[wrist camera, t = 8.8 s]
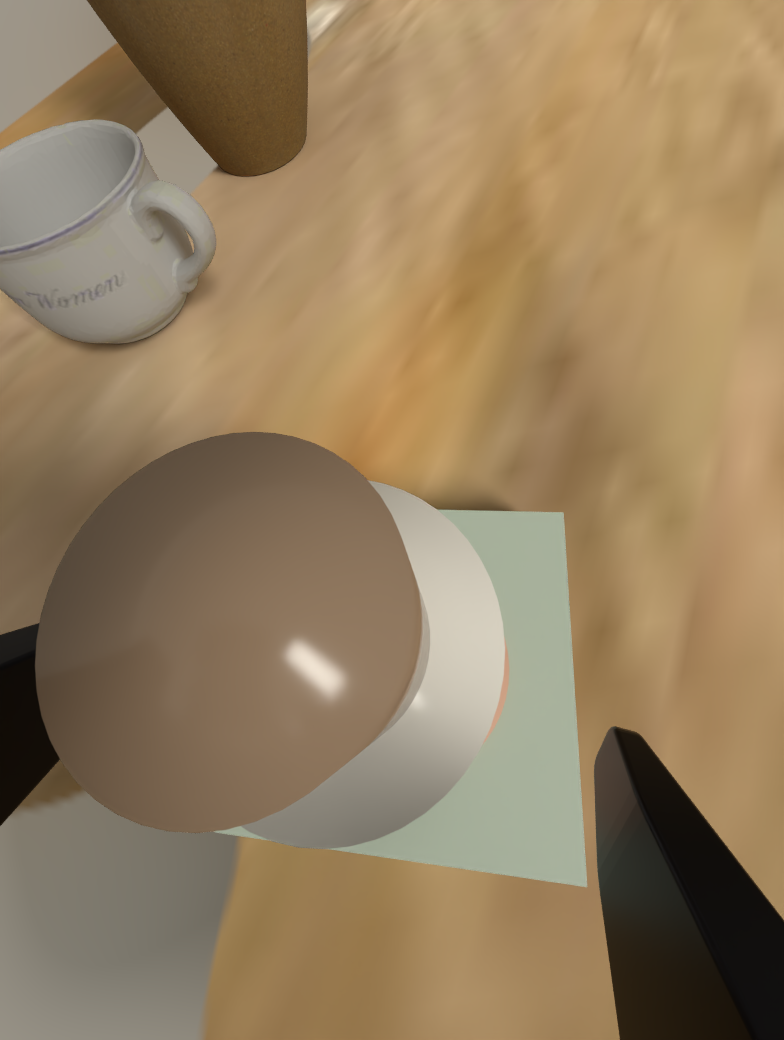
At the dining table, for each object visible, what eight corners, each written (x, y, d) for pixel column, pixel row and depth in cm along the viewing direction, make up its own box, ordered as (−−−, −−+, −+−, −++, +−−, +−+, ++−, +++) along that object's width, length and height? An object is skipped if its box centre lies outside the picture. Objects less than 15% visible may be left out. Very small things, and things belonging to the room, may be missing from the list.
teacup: (35, 343, 29) (-111, 226, 21) (131, 233, 32) (32, 95, 24) (195, 405, 25) (86, 290, 18) (287, 274, 28) (227, 126, 20)
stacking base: (562, 849, 16) (590, 891, 12) (252, 807, 17) (210, 835, 14) (547, 536, 20) (565, 509, 17) (297, 528, 21) (271, 502, 18)
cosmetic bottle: (470, 747, 14) (585, 1144, 2) (324, 733, 15) (-218, 960, 3) (472, 597, 16) (540, 331, 4) (341, 590, 17) (49, 350, 5)
